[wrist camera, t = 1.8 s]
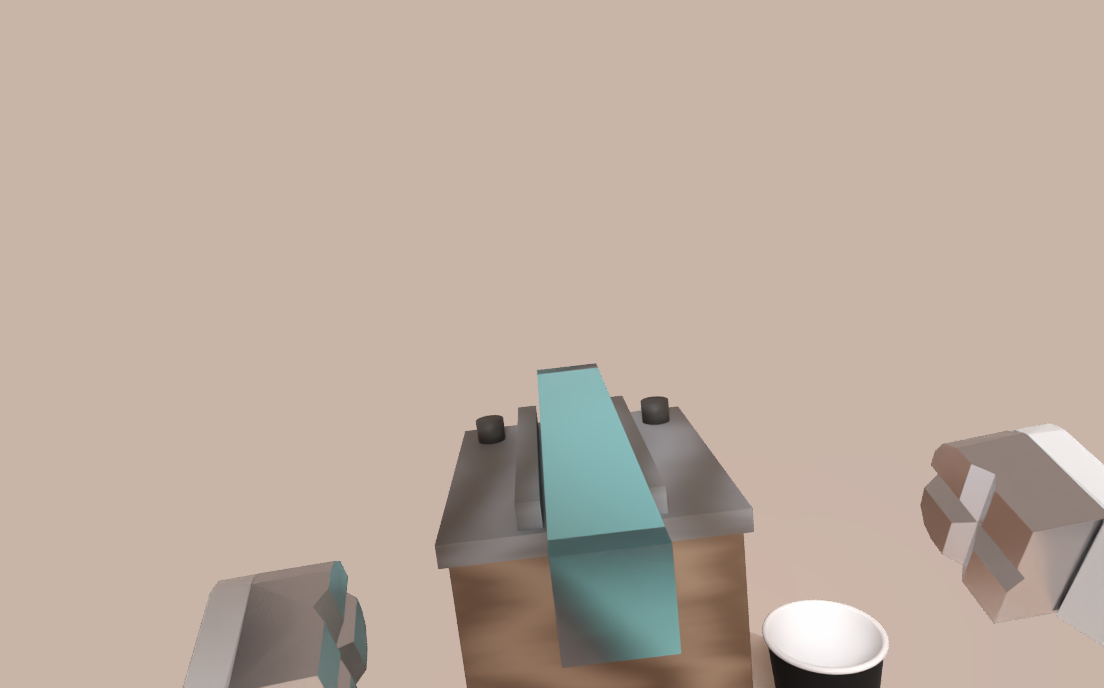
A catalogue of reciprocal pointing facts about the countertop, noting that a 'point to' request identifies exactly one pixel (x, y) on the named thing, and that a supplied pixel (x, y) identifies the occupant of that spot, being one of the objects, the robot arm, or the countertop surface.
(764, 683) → the countertop surface
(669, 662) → the brown boxy piece
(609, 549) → the long teal bar
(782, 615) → the dixie cup
